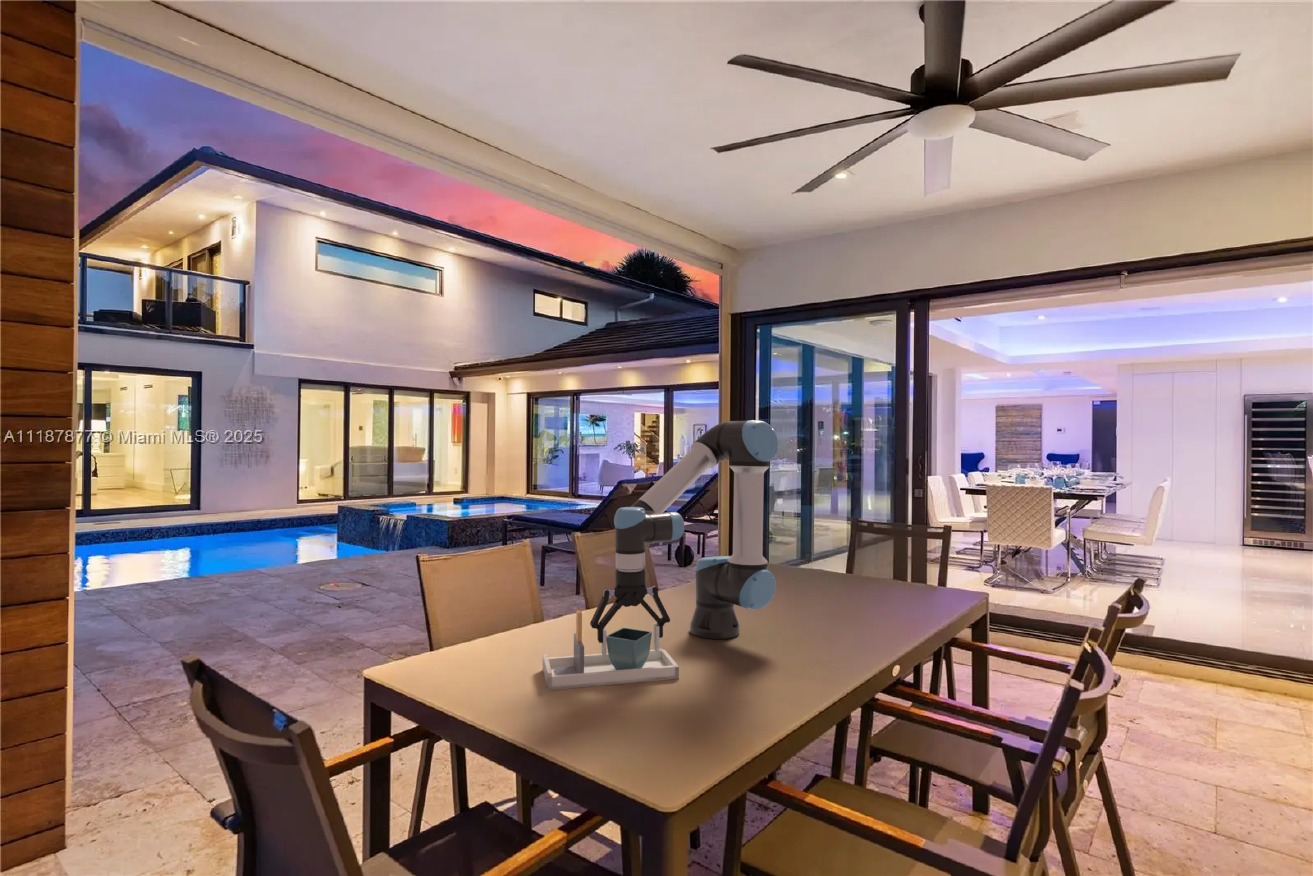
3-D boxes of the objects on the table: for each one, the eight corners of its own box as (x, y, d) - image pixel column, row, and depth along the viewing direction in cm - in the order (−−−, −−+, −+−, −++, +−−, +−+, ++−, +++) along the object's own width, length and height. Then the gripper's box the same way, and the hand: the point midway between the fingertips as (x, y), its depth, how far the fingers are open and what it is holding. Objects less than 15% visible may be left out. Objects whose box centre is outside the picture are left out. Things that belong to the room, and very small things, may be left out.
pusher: (577, 664, 165) (578, 606, 165) (583, 680, 154) (584, 617, 154) (553, 666, 164) (554, 607, 164) (558, 682, 153) (559, 619, 153)
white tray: (663, 660, 172) (663, 645, 172) (678, 678, 159) (678, 662, 159) (542, 670, 164) (542, 654, 164) (547, 690, 151) (547, 673, 151)
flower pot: (604, 671, 161) (604, 635, 161) (622, 661, 169) (623, 627, 169) (635, 678, 157) (635, 641, 157) (652, 667, 165) (652, 631, 165)
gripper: (673, 563, 170) (673, 644, 170) (579, 568, 164) (579, 652, 164) (681, 569, 163) (682, 653, 163) (583, 574, 156) (583, 662, 156)
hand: (630, 653), depth 163 cm, fingers open, 13 cm apart
